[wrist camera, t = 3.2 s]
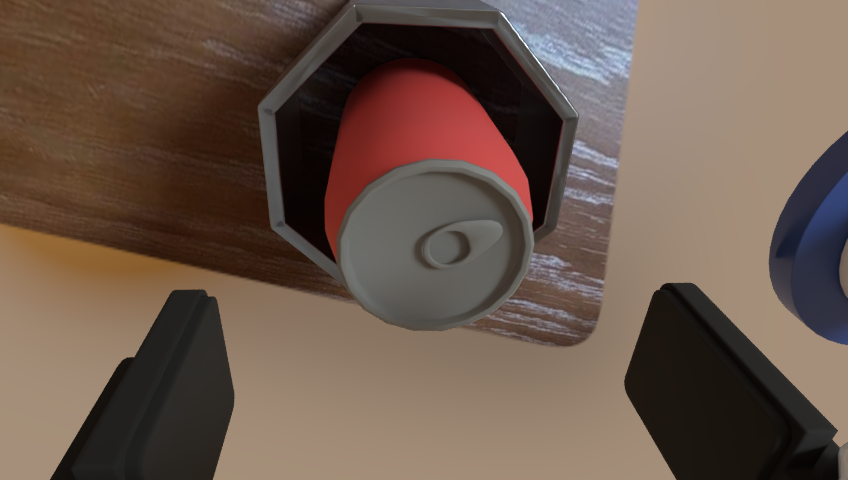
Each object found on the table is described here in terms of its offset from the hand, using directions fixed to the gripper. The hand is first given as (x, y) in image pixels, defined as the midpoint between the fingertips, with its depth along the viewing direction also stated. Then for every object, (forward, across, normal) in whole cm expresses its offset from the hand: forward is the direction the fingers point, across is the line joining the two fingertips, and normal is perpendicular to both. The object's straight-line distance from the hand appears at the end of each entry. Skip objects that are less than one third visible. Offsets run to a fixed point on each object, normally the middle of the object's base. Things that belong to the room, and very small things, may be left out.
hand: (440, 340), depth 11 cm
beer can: (+16, 0, 0) cm, 16 cm away
